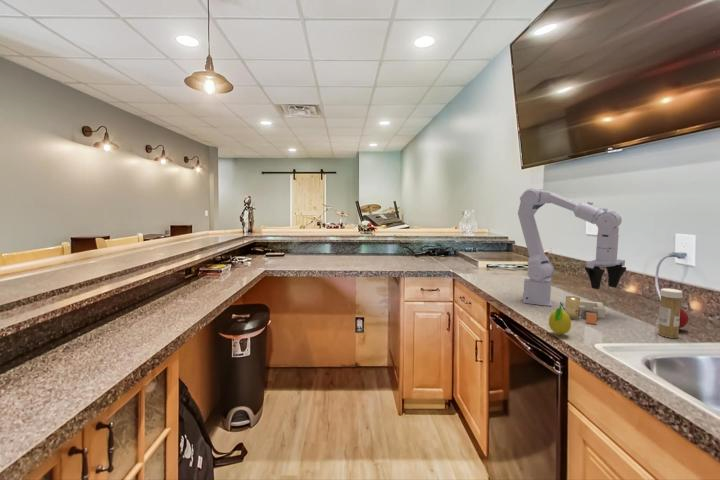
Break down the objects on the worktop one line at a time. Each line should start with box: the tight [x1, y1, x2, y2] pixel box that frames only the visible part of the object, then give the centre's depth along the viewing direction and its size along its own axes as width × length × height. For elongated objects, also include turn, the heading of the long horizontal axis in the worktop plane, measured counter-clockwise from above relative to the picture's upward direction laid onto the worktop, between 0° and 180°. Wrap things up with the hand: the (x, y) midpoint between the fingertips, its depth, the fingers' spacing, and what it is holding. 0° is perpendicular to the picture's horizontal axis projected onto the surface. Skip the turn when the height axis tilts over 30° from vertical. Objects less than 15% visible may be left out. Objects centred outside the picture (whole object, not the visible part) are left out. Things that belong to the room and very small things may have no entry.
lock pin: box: [585, 312, 598, 325], centre depth 108 cm, size 3×7×3 cm, turn 150°
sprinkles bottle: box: [657, 287, 683, 339], centre depth 94 cm, size 5×5×13 cm
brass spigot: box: [564, 295, 581, 321], centre depth 110 cm, size 4×4×7 cm
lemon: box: [548, 301, 572, 336], centre depth 96 cm, size 7×6×10 cm
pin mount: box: [581, 309, 599, 321], centre depth 110 cm, size 4×2×3 cm, turn 60°
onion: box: [679, 307, 690, 329], centre depth 99 cm, size 6×6×8 cm
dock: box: [579, 299, 606, 319], centre depth 116 cm, size 9×9×3 cm
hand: (604, 287), depth 112 cm, fingers open, 7 cm apart
